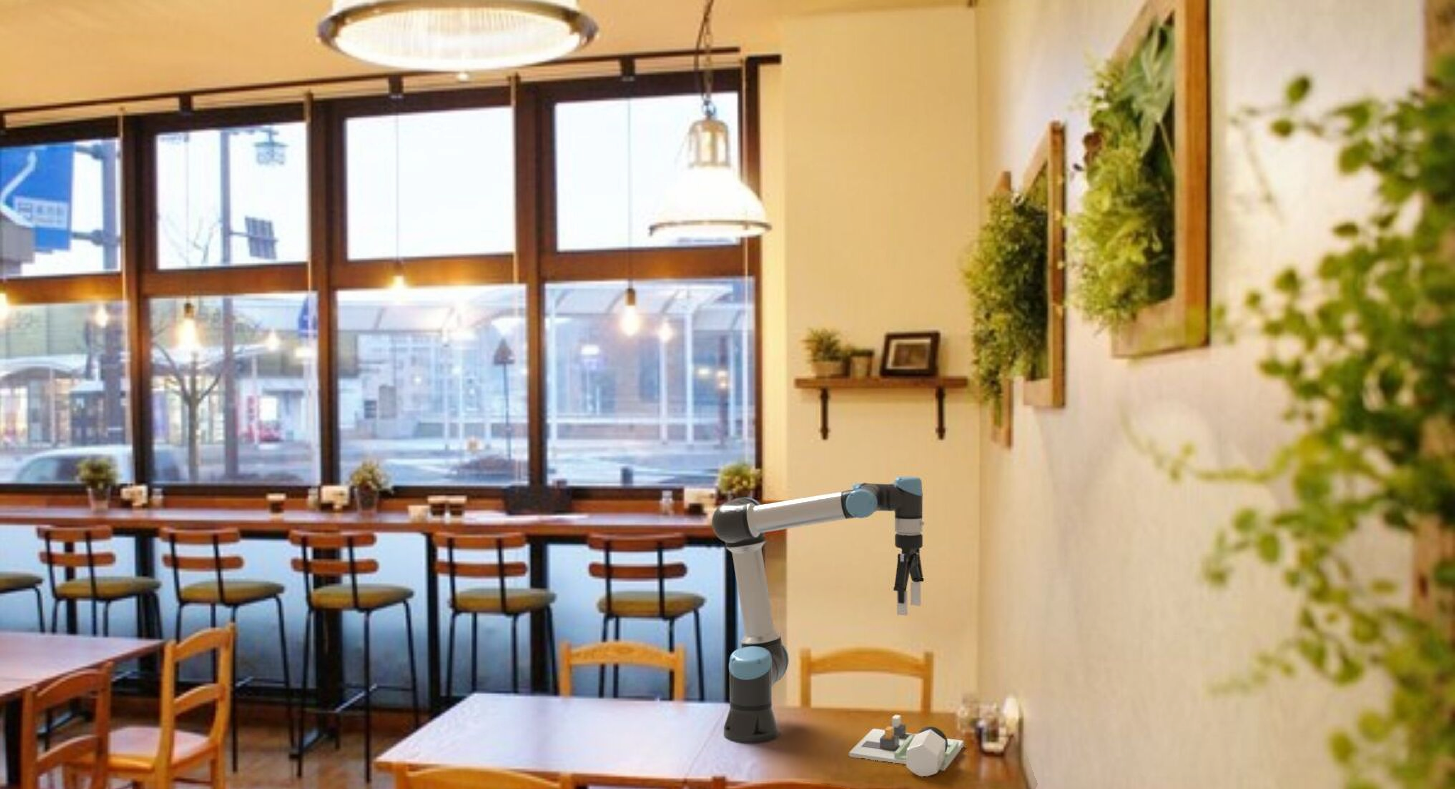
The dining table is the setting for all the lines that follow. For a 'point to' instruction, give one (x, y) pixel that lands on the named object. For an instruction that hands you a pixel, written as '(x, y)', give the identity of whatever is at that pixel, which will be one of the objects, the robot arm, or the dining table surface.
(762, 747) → the dining table surface
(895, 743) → the toggle tagged
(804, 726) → the dining table surface
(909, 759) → the jar
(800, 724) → the dining table surface
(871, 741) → the panel
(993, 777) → the dining table surface
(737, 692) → the robot arm
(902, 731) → the toggle plain
